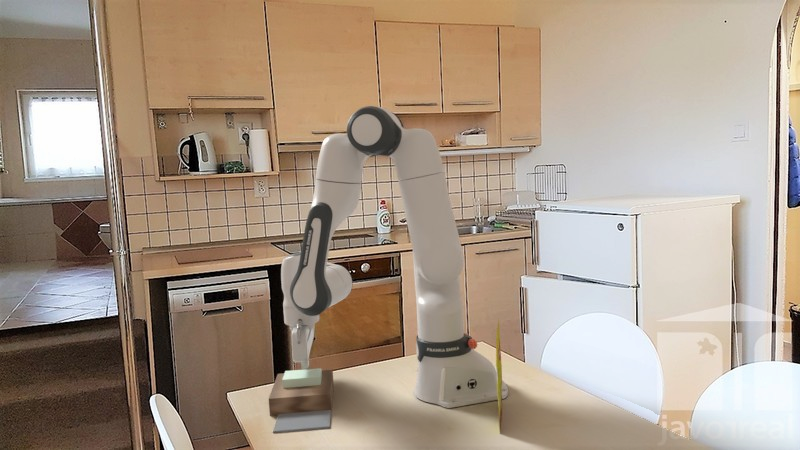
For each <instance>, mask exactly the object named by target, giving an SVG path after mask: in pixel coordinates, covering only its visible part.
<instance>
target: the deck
mask: <svg viewBox="0 0 800 450" xmlns="http://www.w3.org/2000/svg"><path fill="white" fill-rule="evenodd" d="M284 373H285V372H284ZM284 373H282V372H281V373H277V374H276V378H275V381H274V383H273V387H272V389H271V390H270V391H271V392H270V394H269V397H268V409H269V410H268V411H269V416H270V417H271V416H278V414H286V413H298V412H310V411H322V410H331V411H332V407H333V406H332V405H333V397H334V396H333V395H334V386H335V384H334V383H335V382H334V369H322V380H321V385H313V386H301V387H288V388H283V383H282V379H283V376H284Z"/></svg>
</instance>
